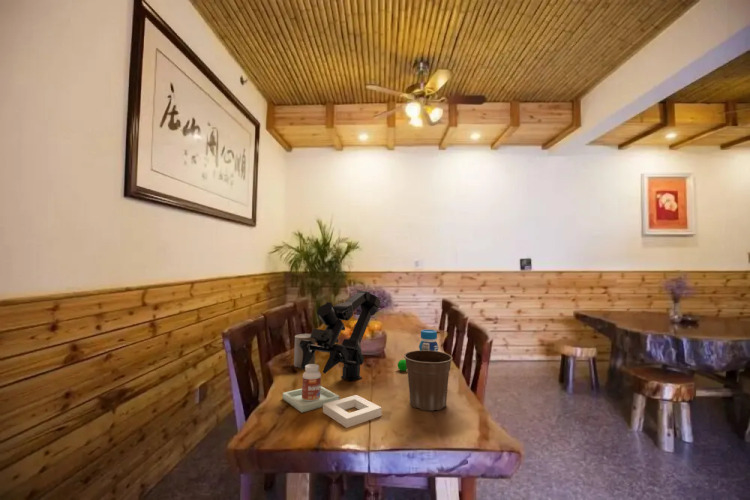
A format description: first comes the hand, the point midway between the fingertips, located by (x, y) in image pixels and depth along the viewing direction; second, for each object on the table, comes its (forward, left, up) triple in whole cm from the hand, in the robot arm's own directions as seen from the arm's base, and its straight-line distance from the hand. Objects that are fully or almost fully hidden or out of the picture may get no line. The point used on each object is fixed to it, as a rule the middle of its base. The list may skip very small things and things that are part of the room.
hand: (312, 370), depth 114 cm
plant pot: (-29, +26, -10) cm, 41 cm away
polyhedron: (-49, -6, -10) cm, 51 cm away
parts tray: (+1, 0, -10) cm, 10 cm away
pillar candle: (-17, -39, -10) cm, 44 cm away
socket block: (-4, +17, -10) cm, 20 cm away
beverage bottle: (-49, +9, -10) cm, 51 cm away
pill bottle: (0, 0, -9) cm, 9 cm away
